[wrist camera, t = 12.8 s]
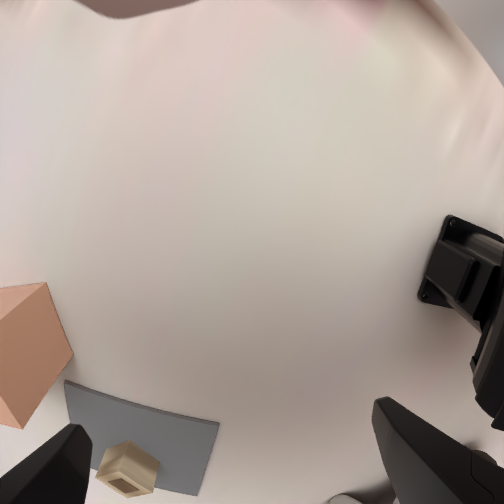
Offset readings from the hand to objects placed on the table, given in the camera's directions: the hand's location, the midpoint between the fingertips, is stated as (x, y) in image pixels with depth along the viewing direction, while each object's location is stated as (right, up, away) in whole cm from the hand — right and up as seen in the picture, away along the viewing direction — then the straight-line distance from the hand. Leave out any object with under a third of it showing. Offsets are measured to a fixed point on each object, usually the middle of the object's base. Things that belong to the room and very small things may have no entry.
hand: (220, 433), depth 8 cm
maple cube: (-11, -15, +18) cm, 26 cm away
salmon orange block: (-17, -1, +13) cm, 22 cm away
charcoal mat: (-10, -14, +18) cm, 25 cm away
